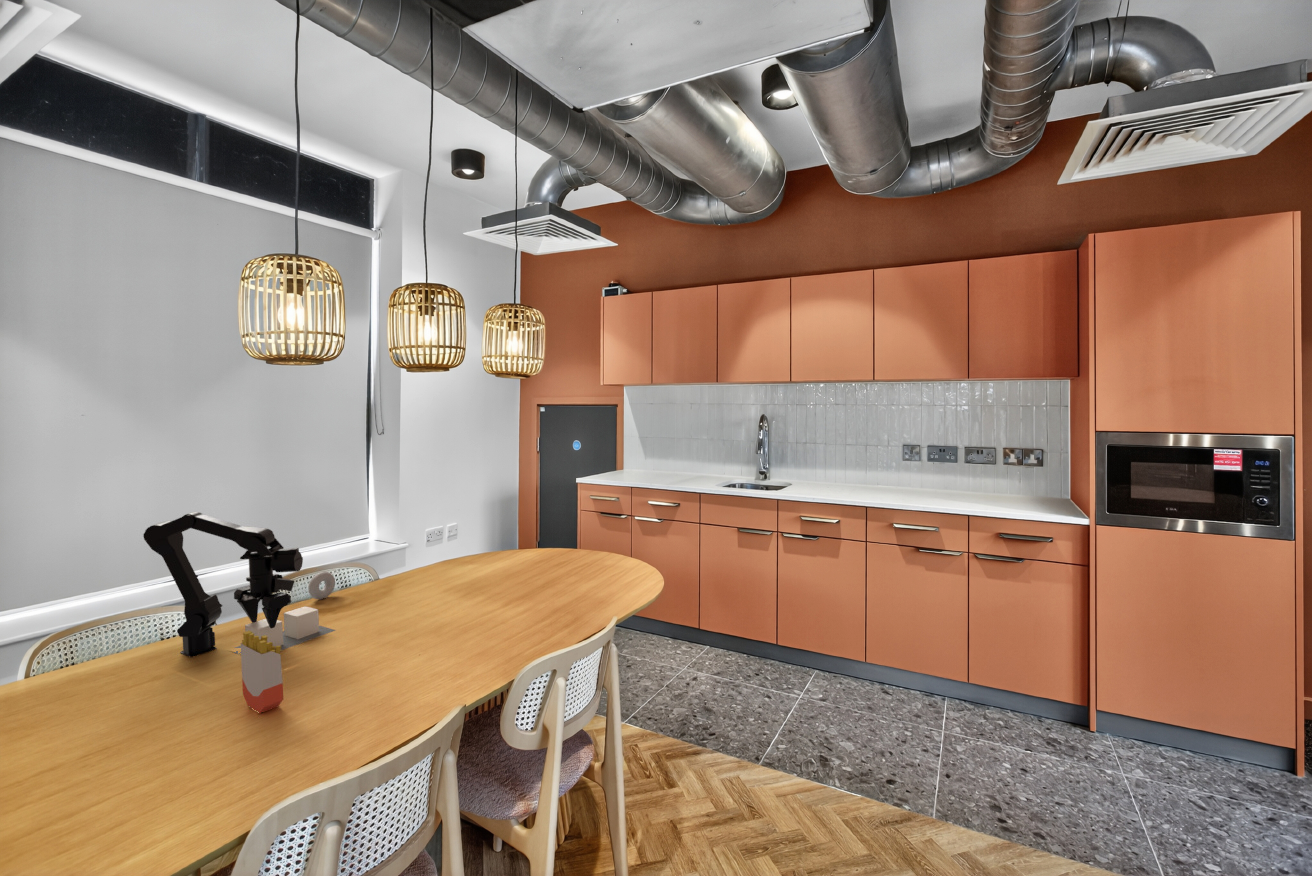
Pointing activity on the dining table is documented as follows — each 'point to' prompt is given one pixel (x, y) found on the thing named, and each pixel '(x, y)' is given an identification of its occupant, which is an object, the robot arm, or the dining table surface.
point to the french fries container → (261, 672)
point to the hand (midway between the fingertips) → (263, 624)
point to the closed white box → (301, 622)
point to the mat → (292, 641)
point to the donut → (315, 583)
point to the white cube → (267, 631)
